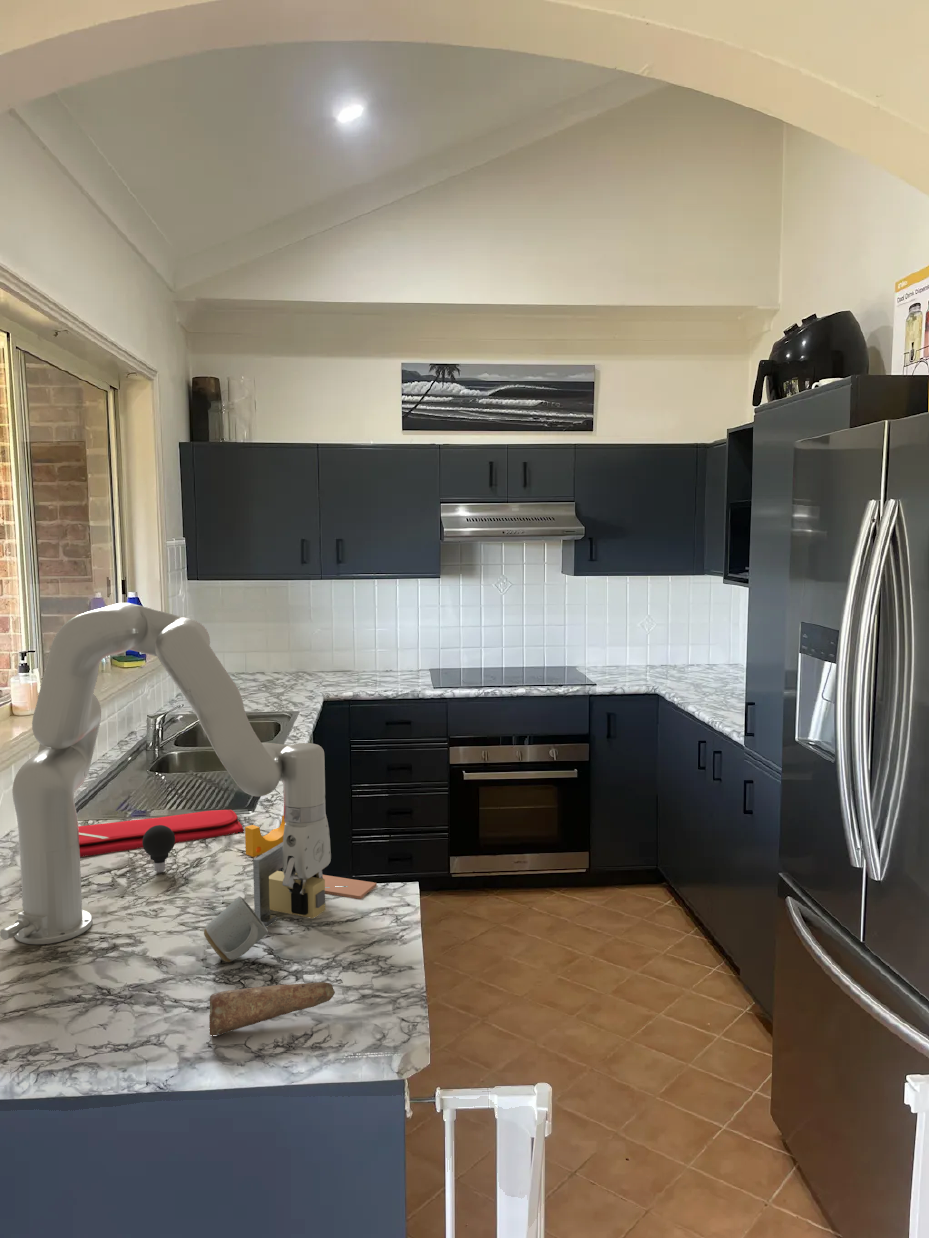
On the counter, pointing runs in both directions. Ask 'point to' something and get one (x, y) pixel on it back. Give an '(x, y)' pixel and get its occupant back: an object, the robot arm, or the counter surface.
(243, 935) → the ceramic mug
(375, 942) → the counter surface
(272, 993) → the brown tapered cone
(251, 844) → the pipe clamp
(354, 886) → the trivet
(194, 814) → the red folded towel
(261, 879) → the grey u-shaped piece
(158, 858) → the black rubber blower bulb
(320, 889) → the tan rectangular block
